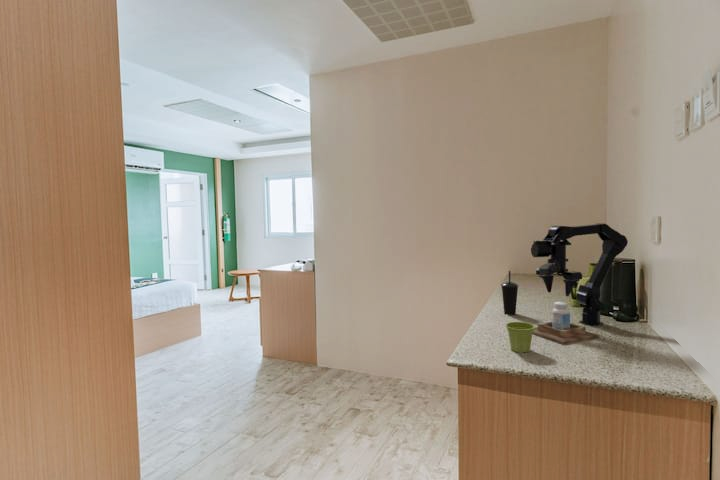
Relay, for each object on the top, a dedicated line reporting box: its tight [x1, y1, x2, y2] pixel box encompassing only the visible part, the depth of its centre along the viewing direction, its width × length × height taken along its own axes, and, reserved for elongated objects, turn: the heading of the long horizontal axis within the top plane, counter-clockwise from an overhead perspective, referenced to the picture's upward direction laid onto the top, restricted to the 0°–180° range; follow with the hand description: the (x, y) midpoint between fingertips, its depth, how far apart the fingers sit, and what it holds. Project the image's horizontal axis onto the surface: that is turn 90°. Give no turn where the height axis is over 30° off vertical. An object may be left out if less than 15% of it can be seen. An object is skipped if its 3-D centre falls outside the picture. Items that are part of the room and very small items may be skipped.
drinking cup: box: [500, 270, 519, 316], centre depth 192 cm, size 8×8×20 cm
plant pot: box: [505, 321, 536, 354], centre depth 143 cm, size 9×9×9 cm
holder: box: [532, 321, 600, 345], centre depth 159 cm, size 18×18×4 cm
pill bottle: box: [551, 301, 571, 330], centre depth 159 cm, size 6×6×11 cm
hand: (558, 294), depth 171 cm, fingers open, 9 cm apart
